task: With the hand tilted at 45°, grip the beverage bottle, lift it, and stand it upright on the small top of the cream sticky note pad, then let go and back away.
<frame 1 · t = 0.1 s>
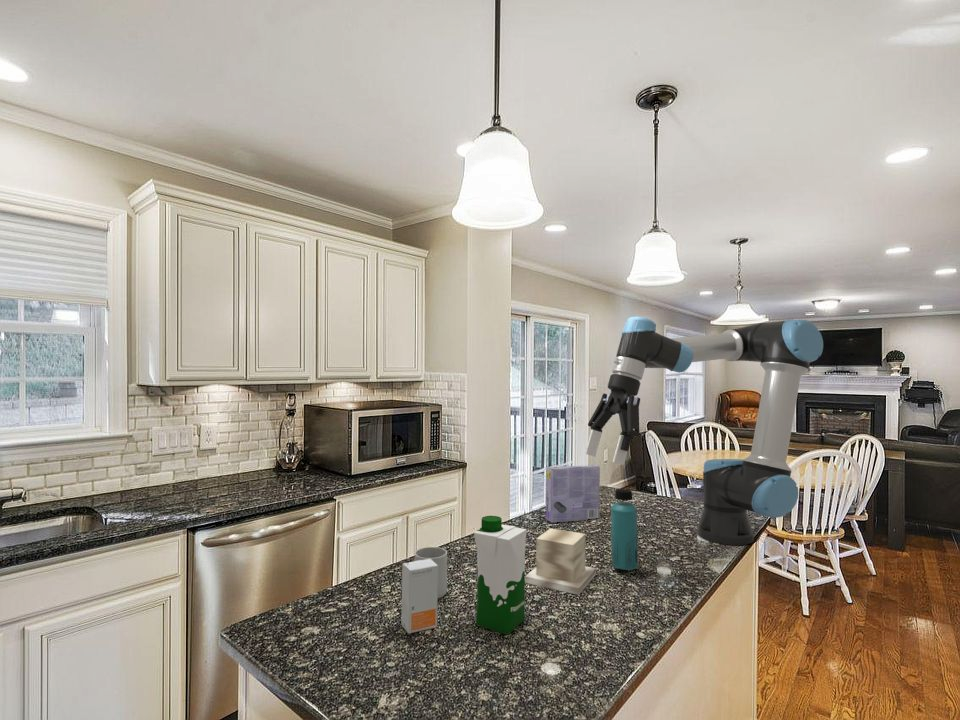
hand: (603, 459, 126), 28 cm above the countertop, tool tilted 20°, fingers open, 13 cm apart
milk carton: (500, 623, 101), on the countertop
beverage bottle: (624, 571, 126), on the countertop
cake pan box: (574, 520, 170), on the countertop
cup: (425, 595, 113), on the countertop
skincare box: (419, 627, 99), on the countertop
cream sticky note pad: (561, 578, 122), on the countertop
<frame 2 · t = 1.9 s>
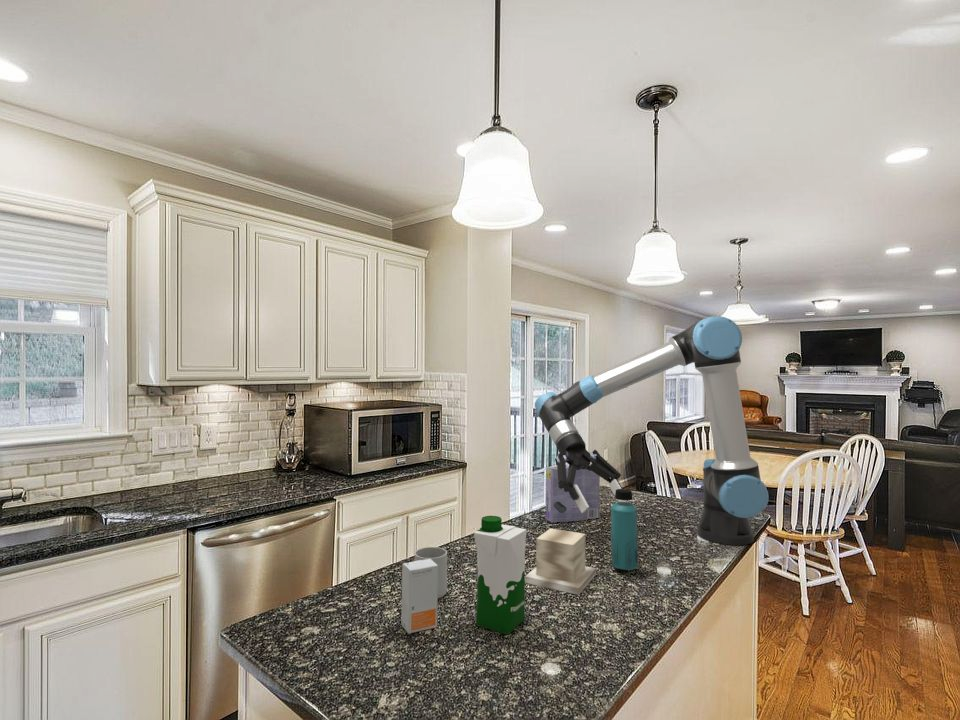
hand: (605, 506, 131), 15 cm above the countertop, tool tilted 45°, fingers open, 13 cm apart
nothing on the countertop moved.
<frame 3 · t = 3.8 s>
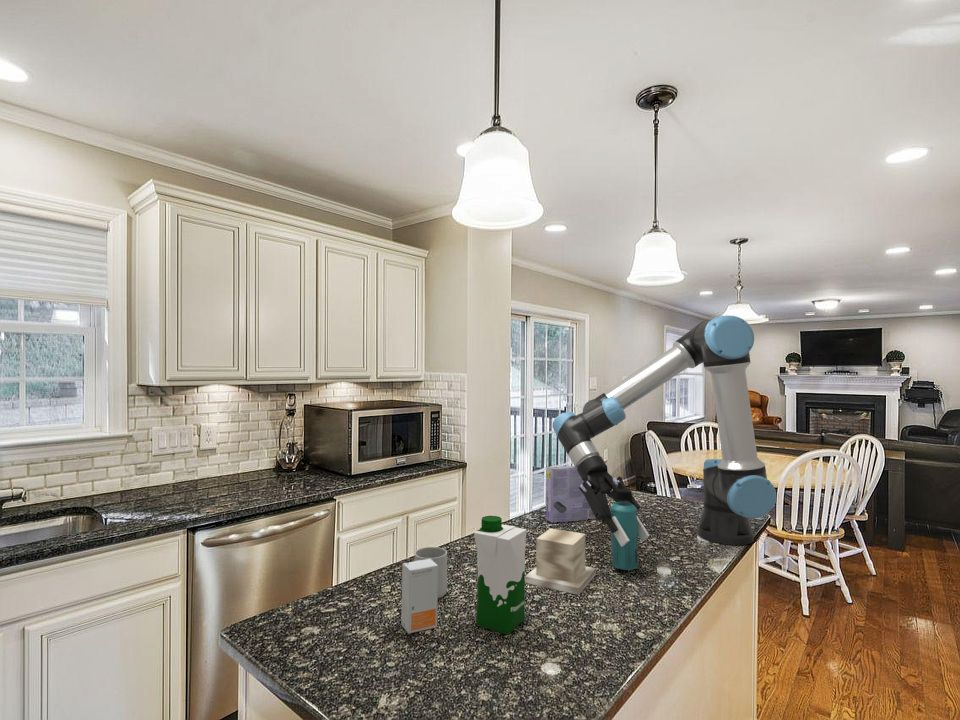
hand: (635, 540, 124), 8 cm above the countertop, tool tilted 45°, fingers closed on beverage bottle, 6 cm apart
beverage bottle: (624, 571, 126), on the countertop, touching gripper
everything else where it was.
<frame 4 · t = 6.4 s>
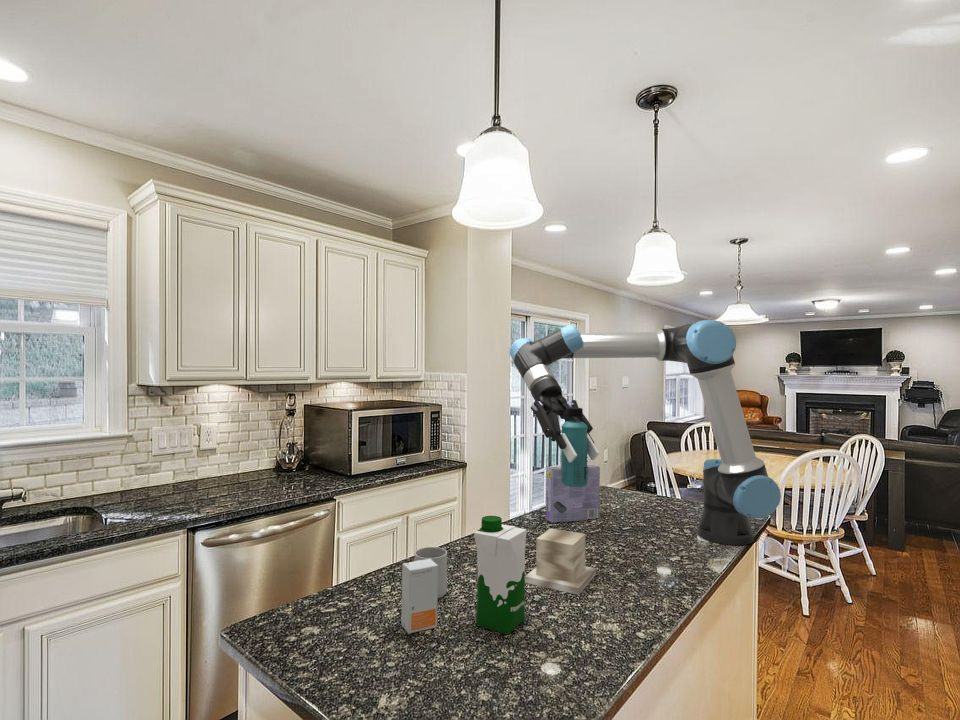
hand: (584, 457, 121), 29 cm above the countertop, tool tilted 45°, fingers closed on beverage bottle, 6 cm apart
beverage bottle: (573, 491, 124), point 20 cm above the countertop, touching gripper
everything else where it was.
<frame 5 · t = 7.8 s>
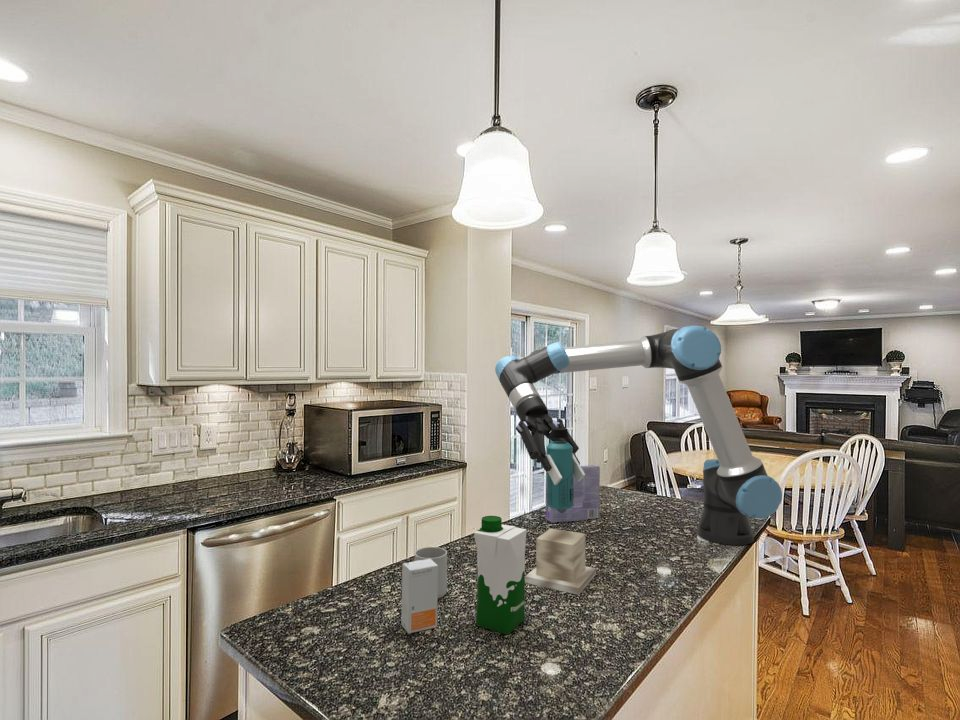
hand: (570, 479, 119), 24 cm above the countertop, tool tilted 45°, fingers closed on beverage bottle, 6 cm apart
beverage bottle: (559, 512, 122), point 16 cm above the countertop, touching gripper
everything else where it was.
when the fingers open (20 cm above the countertop, at t = 9.1 s): beverage bottle drops 1 cm, resting on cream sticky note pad.
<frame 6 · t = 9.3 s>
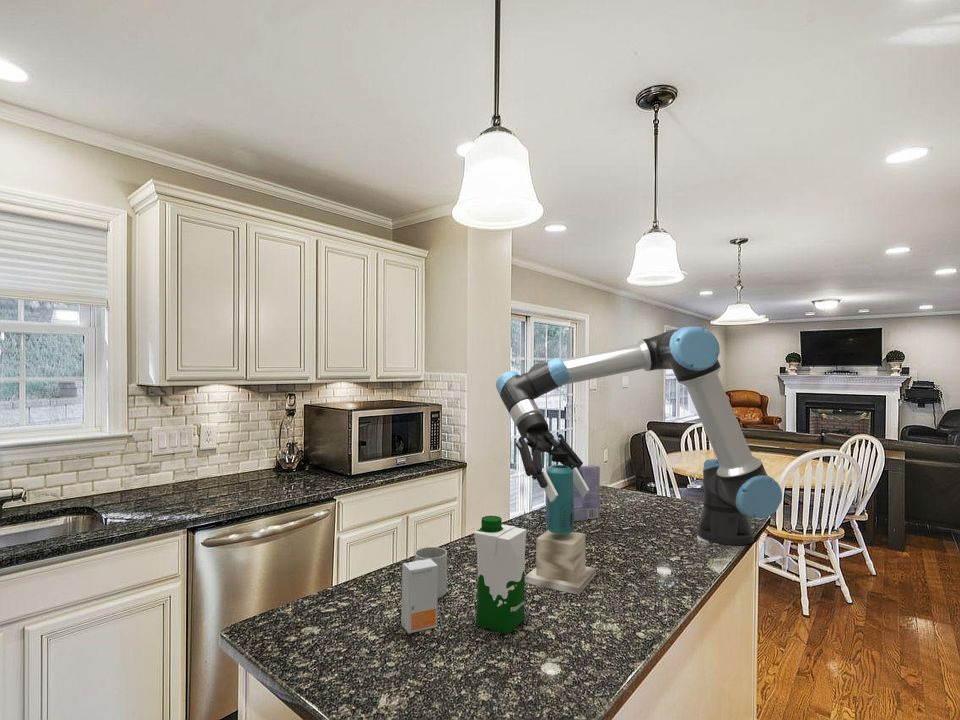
hand: (570, 495, 119), 20 cm above the countertop, tool tilted 45°, fingers open, 9 cm apart
beverage bottle: (560, 537, 122), point 10 cm above the countertop, touching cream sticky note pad
everything else where it was.
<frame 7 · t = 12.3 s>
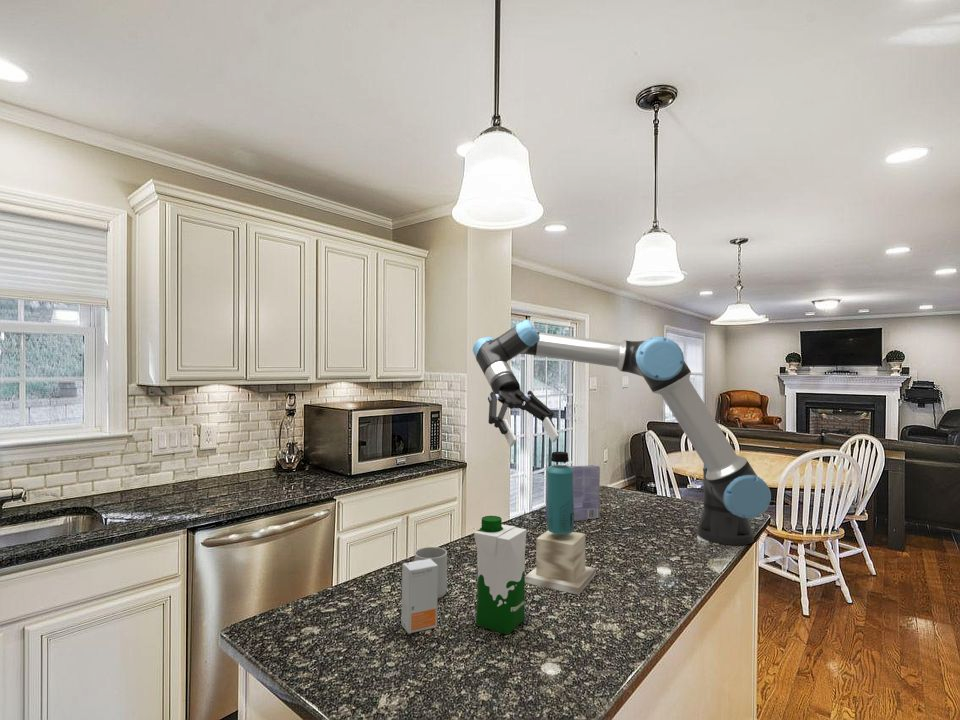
hand: (535, 441, 132), 31 cm above the countertop, tool tilted 45°, fingers open, 13 cm apart
nothing on the countertop moved.
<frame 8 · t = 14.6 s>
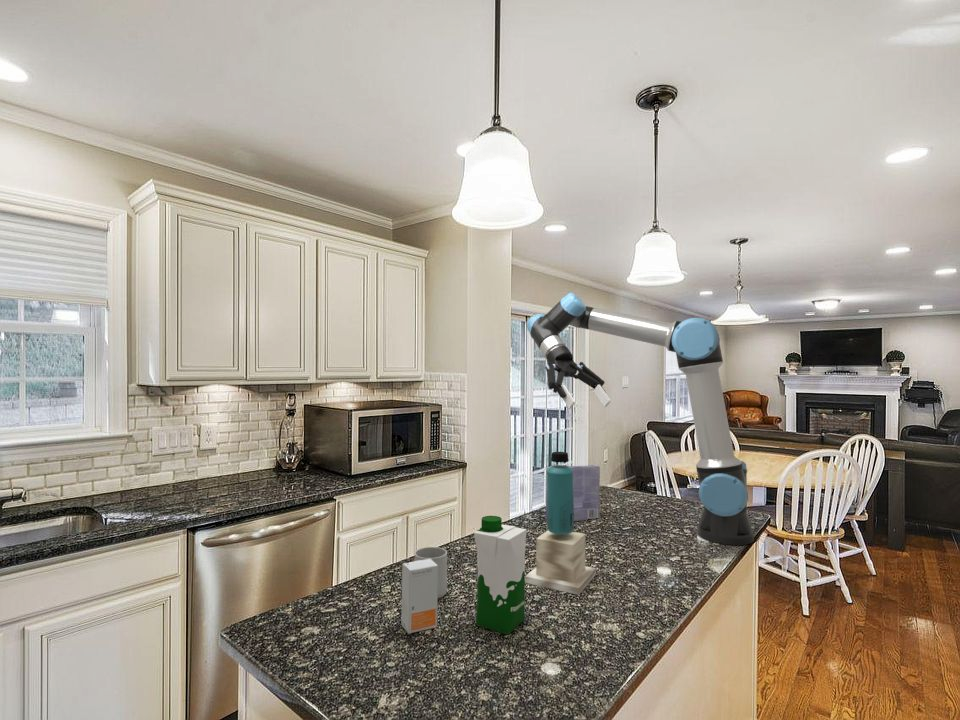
hand: (590, 404, 147), 40 cm above the countertop, tool tilted 45°, fingers open, 13 cm apart
nothing on the countertop moved.
at the end: beverage bottle 0.3 cm off-centre on the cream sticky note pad, point 9.8 cm above the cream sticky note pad's base; beverage bottle tilted 0°; the gripper is holding nothing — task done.
